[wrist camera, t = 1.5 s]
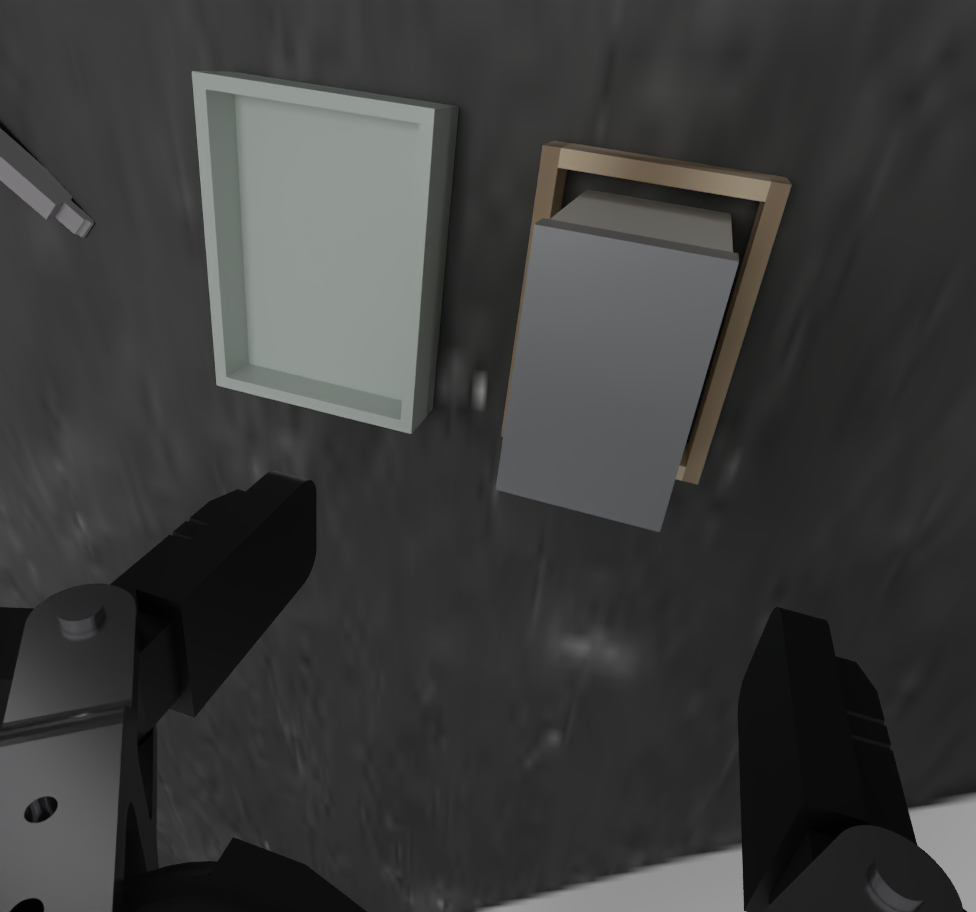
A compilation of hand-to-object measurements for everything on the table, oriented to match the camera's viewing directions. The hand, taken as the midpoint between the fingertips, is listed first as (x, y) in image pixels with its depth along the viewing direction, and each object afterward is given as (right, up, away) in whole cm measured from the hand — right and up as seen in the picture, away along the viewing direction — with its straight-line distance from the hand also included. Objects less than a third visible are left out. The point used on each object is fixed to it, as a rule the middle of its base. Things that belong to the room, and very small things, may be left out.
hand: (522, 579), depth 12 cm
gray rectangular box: (+5, +8, +14) cm, 17 cm away
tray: (-7, +10, +17) cm, 21 cm away
